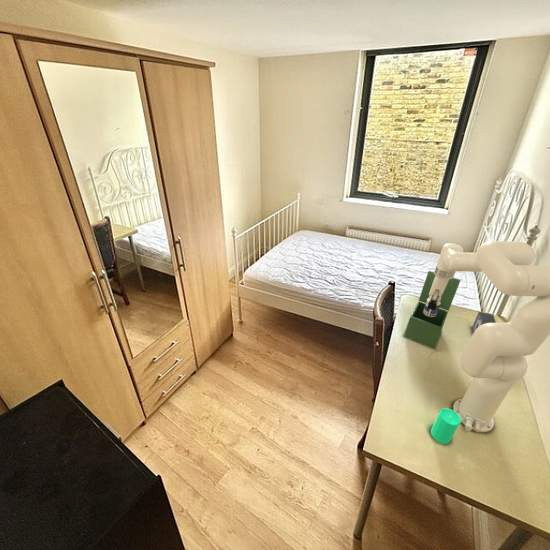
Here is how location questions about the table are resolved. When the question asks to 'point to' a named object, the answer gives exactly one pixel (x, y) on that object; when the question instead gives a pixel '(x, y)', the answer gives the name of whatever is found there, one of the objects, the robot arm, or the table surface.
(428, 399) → the table surface
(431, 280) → the lid
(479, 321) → the small box
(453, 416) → the candle
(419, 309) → the chest
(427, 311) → the pill bottle
